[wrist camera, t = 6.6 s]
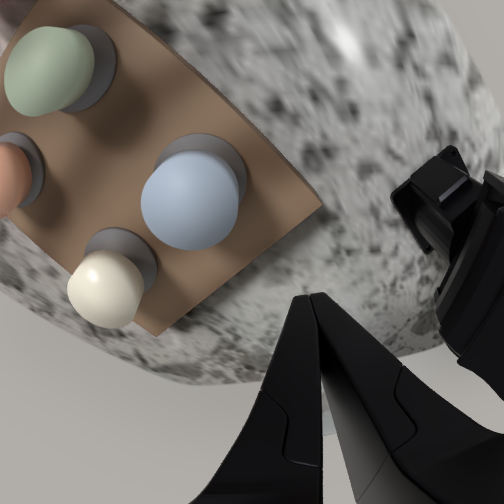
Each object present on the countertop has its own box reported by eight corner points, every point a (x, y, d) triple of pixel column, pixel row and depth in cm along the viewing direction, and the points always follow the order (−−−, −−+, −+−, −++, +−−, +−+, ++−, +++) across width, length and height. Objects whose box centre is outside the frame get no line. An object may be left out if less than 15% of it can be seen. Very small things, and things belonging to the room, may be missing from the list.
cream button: (158, 282, 18) (150, 304, 17) (121, 317, 20) (113, 338, 18) (100, 236, 17) (86, 254, 15) (69, 278, 18) (57, 297, 17)
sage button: (111, 57, 12) (93, 57, 10) (61, 126, 13) (40, 134, 12) (58, 15, 10) (37, 11, 8) (14, 82, 12) (-8, 86, 10)
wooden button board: (314, 189, 20) (324, 208, 18) (162, 315, 26) (155, 341, 23) (80, -23, 12) (58, -33, 9) (-25, 152, 17) (-48, 165, 15)
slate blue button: (257, 192, 16) (259, 208, 14) (197, 245, 17) (192, 266, 15) (192, 130, 14) (185, 138, 12) (135, 192, 15) (122, 208, 14)
